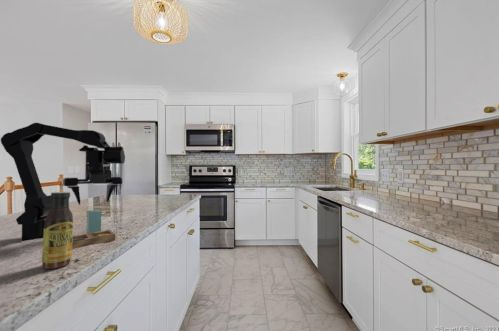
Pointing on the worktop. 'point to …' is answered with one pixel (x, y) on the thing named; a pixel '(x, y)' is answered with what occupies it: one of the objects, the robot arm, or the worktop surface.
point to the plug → (93, 221)
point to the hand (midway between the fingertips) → (93, 203)
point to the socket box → (92, 238)
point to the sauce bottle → (58, 233)
